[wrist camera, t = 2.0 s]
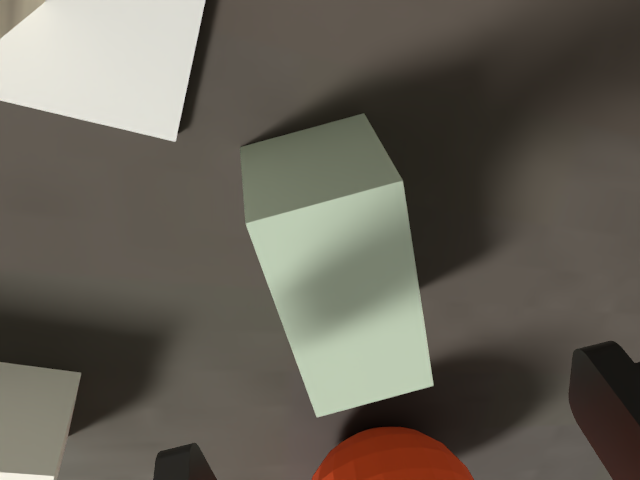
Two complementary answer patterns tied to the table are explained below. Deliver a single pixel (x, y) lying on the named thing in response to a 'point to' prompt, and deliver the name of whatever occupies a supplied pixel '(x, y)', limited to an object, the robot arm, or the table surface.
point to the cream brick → (34, 420)
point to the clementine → (391, 458)
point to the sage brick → (338, 261)
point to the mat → (104, 61)
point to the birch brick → (15, 13)
